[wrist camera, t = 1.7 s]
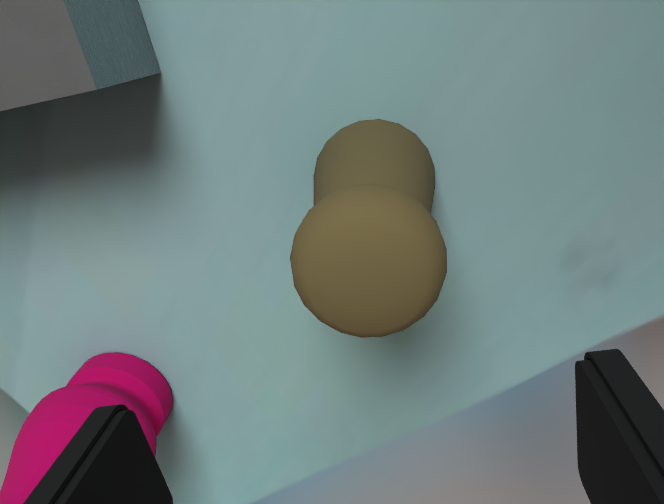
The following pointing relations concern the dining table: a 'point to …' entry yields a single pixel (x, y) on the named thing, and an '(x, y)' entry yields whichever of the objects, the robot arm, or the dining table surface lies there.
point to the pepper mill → (84, 415)
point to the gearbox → (70, 48)
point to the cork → (370, 232)
